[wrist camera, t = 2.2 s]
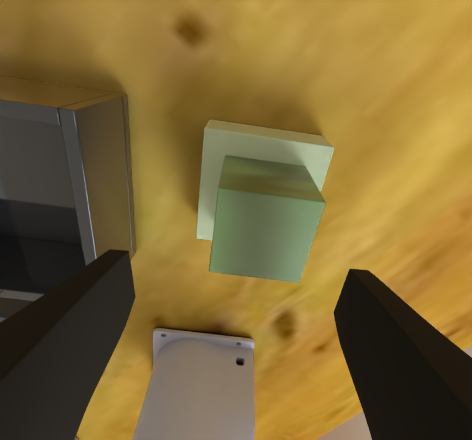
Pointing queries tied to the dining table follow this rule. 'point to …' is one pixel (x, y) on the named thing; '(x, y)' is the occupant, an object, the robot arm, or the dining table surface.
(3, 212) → the black storage bin
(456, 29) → the dining table surface
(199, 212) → the mint block
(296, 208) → the cube
